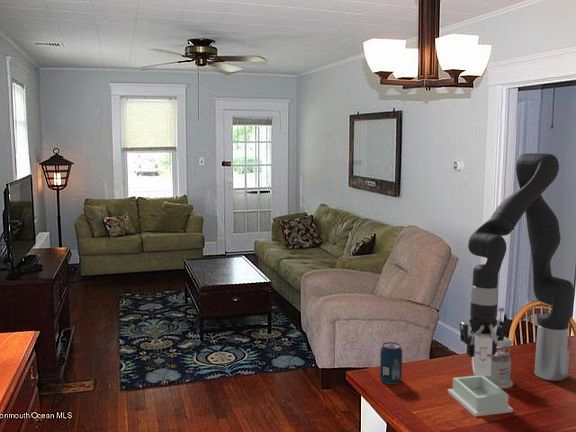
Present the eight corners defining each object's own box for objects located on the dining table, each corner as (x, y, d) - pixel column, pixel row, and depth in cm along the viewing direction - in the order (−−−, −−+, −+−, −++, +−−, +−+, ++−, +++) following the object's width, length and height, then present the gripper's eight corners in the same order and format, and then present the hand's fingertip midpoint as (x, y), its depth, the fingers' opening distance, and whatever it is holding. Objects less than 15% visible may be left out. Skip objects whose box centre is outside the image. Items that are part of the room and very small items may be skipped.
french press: (475, 382, 188) (479, 307, 184) (491, 371, 197) (494, 299, 193) (505, 391, 181) (510, 314, 178) (520, 379, 190) (524, 305, 186)
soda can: (386, 374, 194) (387, 339, 192) (405, 379, 190) (406, 344, 188) (375, 381, 189) (376, 345, 187) (394, 386, 185) (395, 350, 183)
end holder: (482, 388, 183) (483, 373, 183) (512, 412, 168) (513, 395, 167) (447, 392, 181) (448, 376, 180) (475, 416, 165) (475, 399, 165)
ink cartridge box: (470, 364, 178) (472, 317, 175) (487, 365, 177) (489, 318, 174) (473, 375, 169) (475, 326, 167) (491, 376, 168) (494, 327, 166)
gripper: (498, 295, 175) (495, 348, 177) (455, 298, 172) (452, 352, 174) (513, 302, 168) (510, 358, 170) (468, 305, 165) (465, 362, 167)
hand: (481, 355), depth 172 cm, fingers closed on ink cartridge box, 6 cm apart
